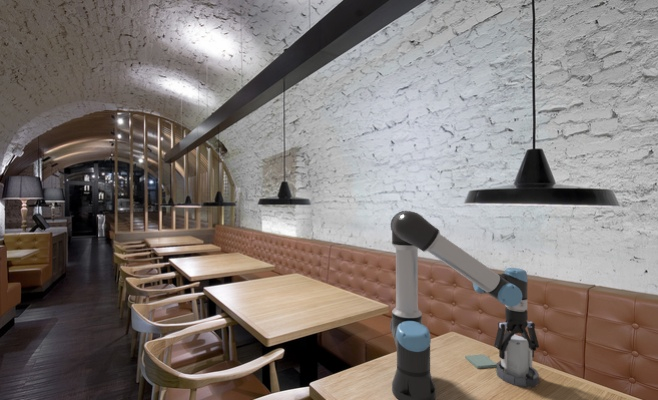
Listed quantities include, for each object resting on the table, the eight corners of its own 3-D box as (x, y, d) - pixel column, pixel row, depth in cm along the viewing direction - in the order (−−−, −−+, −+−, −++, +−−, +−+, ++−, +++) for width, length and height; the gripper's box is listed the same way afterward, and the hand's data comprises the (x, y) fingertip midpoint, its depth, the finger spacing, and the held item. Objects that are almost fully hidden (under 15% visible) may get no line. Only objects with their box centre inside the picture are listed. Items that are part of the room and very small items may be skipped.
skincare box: (513, 370, 129) (513, 333, 129) (529, 376, 125) (529, 338, 125) (503, 376, 124) (503, 338, 124) (520, 383, 119) (520, 344, 120)
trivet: (477, 368, 131) (477, 366, 131) (465, 358, 140) (465, 355, 140) (497, 366, 132) (497, 364, 132) (484, 356, 141) (484, 354, 141)
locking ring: (514, 389, 116) (514, 378, 116) (487, 368, 131) (487, 358, 131) (549, 386, 118) (549, 375, 118) (518, 365, 133) (518, 355, 133)
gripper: (495, 312, 120) (495, 372, 120) (550, 310, 122) (550, 369, 122) (483, 306, 127) (484, 362, 127) (535, 304, 129) (536, 359, 129)
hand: (516, 366), depth 124 cm, fingers closed on skincare box, 10 cm apart
